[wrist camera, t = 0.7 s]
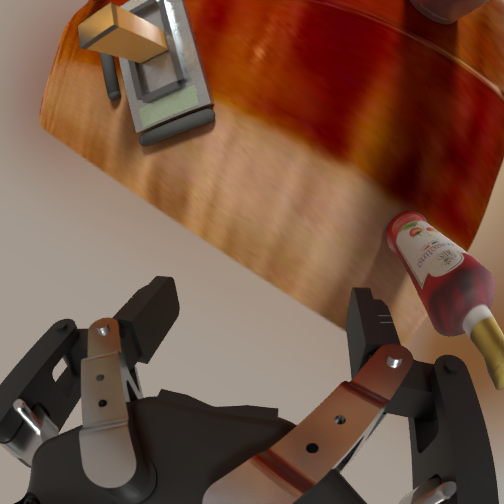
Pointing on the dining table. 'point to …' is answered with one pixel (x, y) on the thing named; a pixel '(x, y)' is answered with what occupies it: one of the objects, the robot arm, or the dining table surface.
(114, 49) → the tan wooden block
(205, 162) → the dining table surface
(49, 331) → the robot arm
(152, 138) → the dark grey rounded bar
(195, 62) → the panel
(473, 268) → the liquor
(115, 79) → the grey rounded rod
